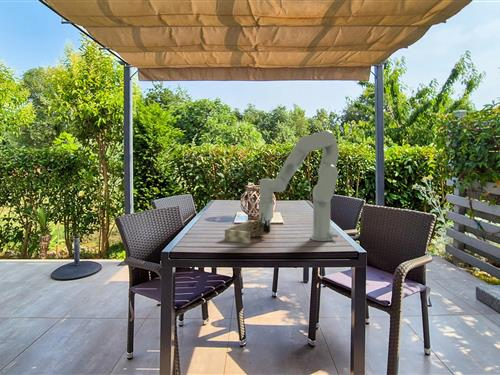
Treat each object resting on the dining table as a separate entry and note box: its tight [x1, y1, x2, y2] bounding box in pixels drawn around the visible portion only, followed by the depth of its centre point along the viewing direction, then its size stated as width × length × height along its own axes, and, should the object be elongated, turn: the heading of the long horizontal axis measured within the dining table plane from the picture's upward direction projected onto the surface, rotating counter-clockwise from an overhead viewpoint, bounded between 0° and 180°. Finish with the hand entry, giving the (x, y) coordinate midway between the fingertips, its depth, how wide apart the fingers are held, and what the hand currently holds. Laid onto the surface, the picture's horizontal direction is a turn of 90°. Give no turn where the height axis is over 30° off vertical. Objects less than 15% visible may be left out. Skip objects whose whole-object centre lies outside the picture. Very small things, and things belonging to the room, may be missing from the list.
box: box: [224, 220, 272, 244], centre depth 191 cm, size 16×28×6 cm, turn 152°
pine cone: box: [233, 219, 267, 238], centre depth 189 cm, size 22×10×10 cm, turn 112°
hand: (266, 232), depth 186 cm, fingers closed
